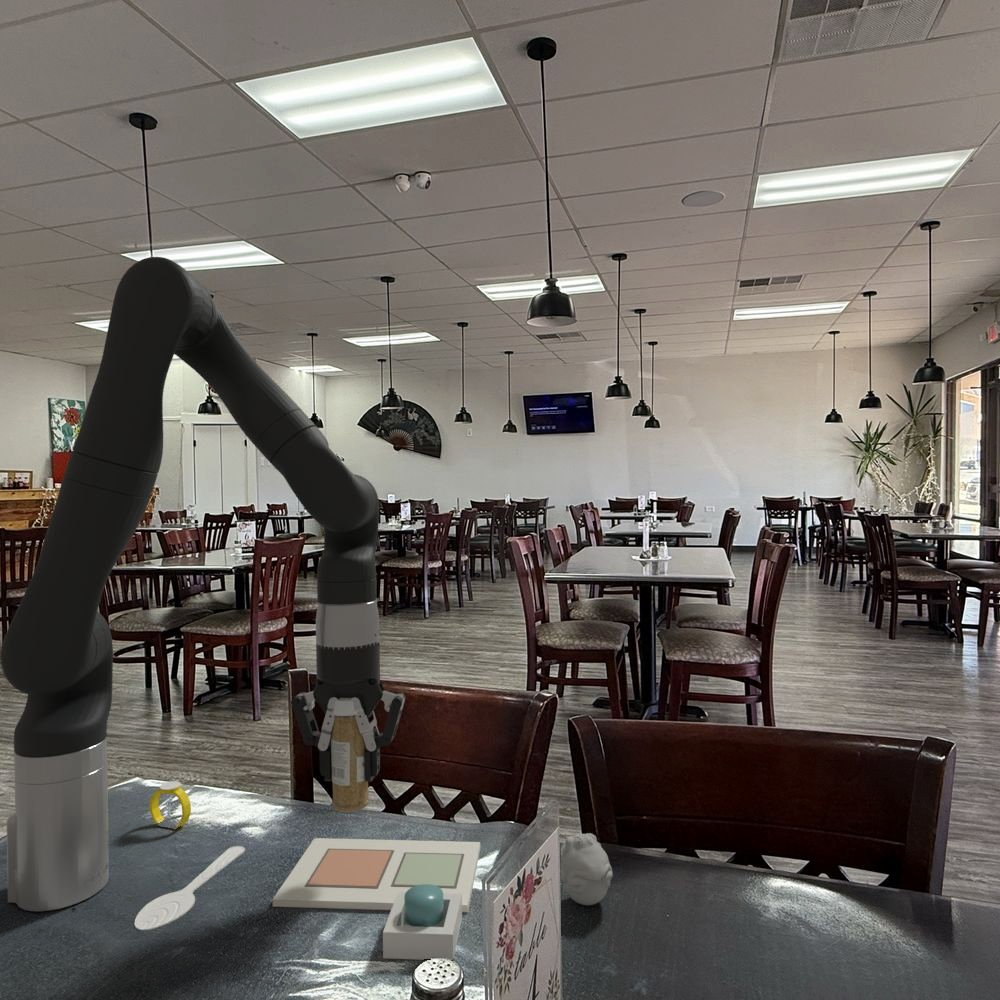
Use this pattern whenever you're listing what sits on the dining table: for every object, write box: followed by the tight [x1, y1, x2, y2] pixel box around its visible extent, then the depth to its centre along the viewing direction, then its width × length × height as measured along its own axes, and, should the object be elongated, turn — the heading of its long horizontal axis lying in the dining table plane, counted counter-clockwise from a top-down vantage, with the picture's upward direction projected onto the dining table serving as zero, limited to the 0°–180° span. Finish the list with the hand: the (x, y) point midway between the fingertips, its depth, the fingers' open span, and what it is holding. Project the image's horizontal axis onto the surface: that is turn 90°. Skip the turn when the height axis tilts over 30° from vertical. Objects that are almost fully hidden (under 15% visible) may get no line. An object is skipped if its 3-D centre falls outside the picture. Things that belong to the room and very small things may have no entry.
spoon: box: [133, 845, 246, 931], centre depth 83 cm, size 5×18×1 cm, turn 167°
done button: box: [404, 884, 443, 927], centre depth 72 cm, size 4×4×2 cm
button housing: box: [382, 892, 463, 961], centre depth 72 cm, size 7×7×3 cm
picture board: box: [272, 837, 481, 913], centre depth 84 cm, size 22×14×1 cm, turn 86°
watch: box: [149, 780, 192, 829], centre depth 98 cm, size 6×3×6 cm, turn 72°
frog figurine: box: [560, 832, 614, 906], centre depth 79 cm, size 6×7×7 cm
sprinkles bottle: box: [331, 698, 370, 813], centre depth 85 cm, size 5×5×14 cm
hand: (350, 778), depth 85 cm, fingers closed on sprinkles bottle, 4 cm apart
